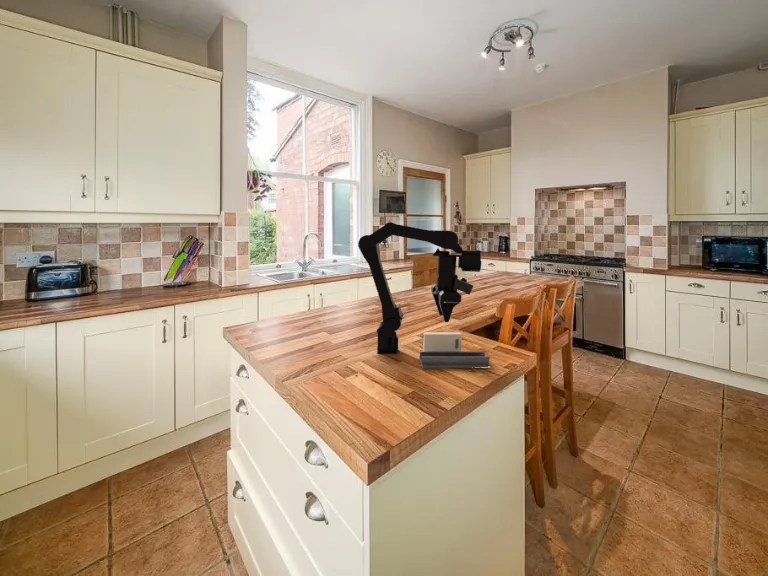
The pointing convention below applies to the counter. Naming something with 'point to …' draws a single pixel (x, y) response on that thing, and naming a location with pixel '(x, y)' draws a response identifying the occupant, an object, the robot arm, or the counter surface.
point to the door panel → (442, 341)
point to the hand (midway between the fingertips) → (443, 318)
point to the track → (453, 359)
